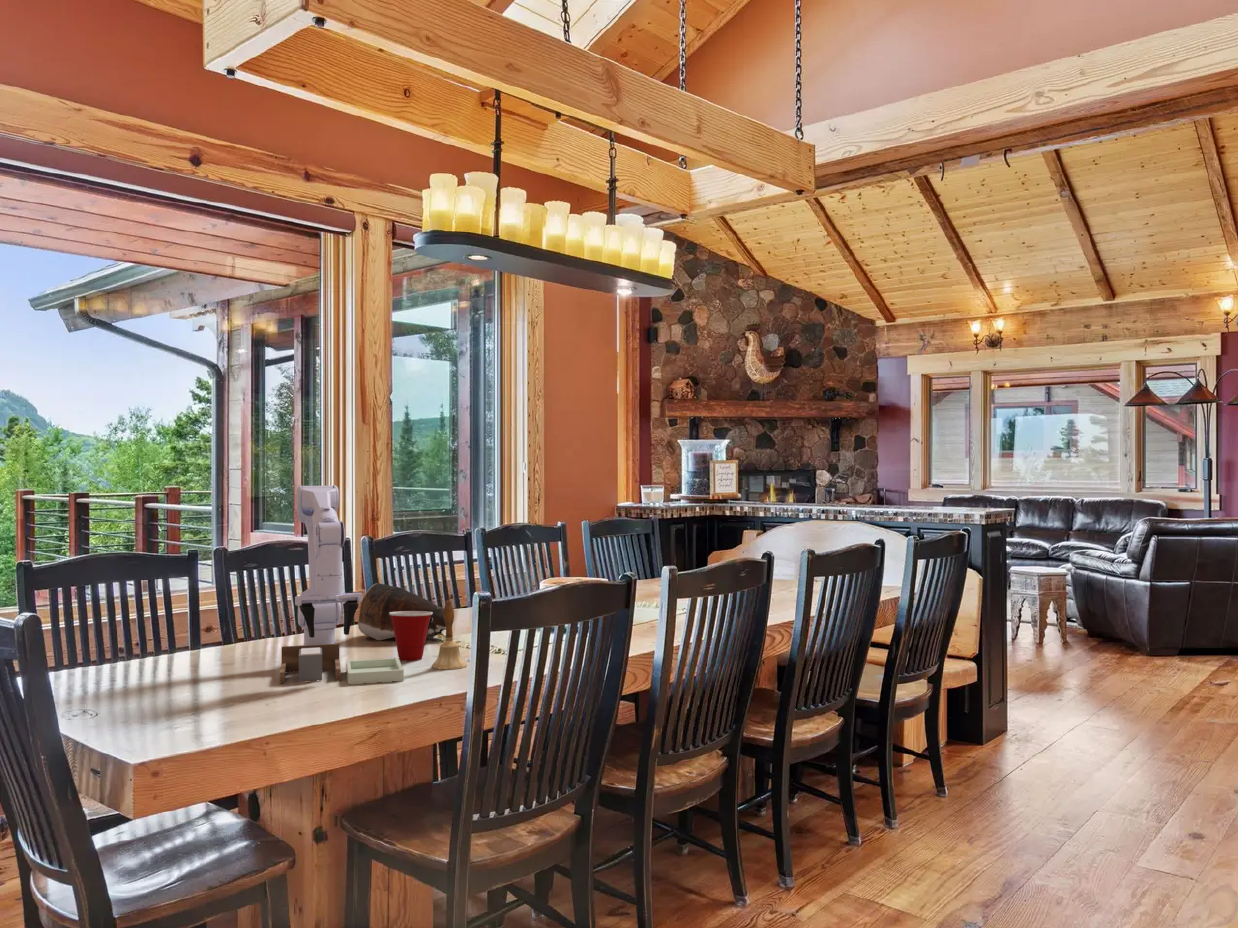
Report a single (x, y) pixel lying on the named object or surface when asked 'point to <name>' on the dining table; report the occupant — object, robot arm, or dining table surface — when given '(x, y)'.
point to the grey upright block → (310, 664)
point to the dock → (292, 659)
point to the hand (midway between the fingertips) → (329, 635)
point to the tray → (374, 671)
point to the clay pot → (394, 599)
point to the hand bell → (449, 645)
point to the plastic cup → (410, 633)
